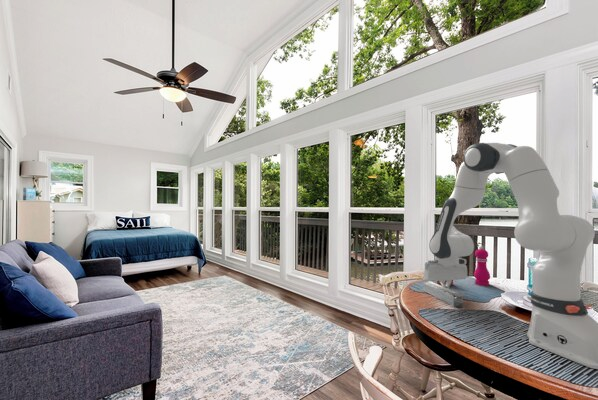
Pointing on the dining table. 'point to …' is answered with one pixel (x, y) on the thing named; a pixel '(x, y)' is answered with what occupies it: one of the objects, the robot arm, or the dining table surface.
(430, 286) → the tongs fixed handle
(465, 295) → the hinged handle
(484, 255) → the pepper mill
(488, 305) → the dining table surface
